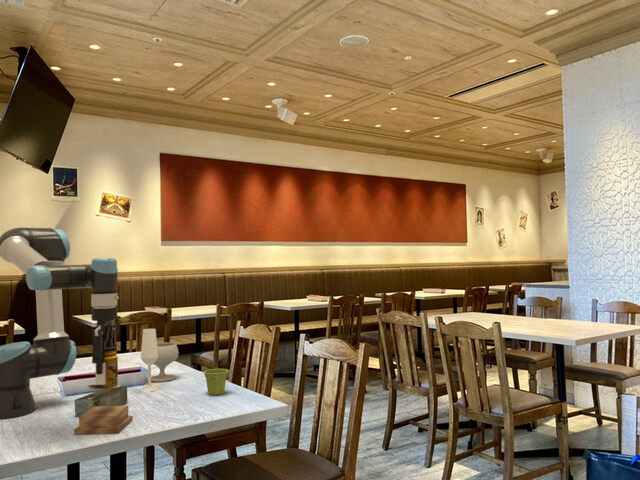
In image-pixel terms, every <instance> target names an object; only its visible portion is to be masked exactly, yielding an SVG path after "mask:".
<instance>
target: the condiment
mask: <svg viewBox="0 0 640 480" xmlns="http://www.w3.org/2000/svg"><path fill="white" fill-rule="evenodd" d="M118 360H119V359H118V355H117V346H116V347H106V349H105V358H104V363H105V374H106V384H105V385H96V384H87V388H89V390H91V391H99V390H101V389H108V388H115V387H121V385H120V384H119V382H118V381H119V380H118V379H119V377H118V376H119V373H118V372H119V369H118V368H119V367H118V365H119V364H118V363H119V362H118Z"/></svg>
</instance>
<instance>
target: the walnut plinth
mask: <svg viewBox="0 0 640 480" xmlns="http://www.w3.org/2000/svg"><path fill="white" fill-rule="evenodd" d="M133 417H134V416H133V415H129V405H121V406H94V407H92V408H91V409H89V410H88V411H86V412H85V413H84V414H82V415H81V416H79V417H78V426H77V427H76V428H75V429H74V430H73V431H74V432H73V433H74V434H73V435H76V436H77V435H109V434H111V435H112V434H120V433H121V432H122V431H123V430H124V429H125V428H126V427H127V426H128V425H129V424H130V423H132V422H133V419H134V418H133Z"/></svg>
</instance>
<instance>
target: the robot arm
mask: <svg viewBox="0 0 640 480" xmlns="http://www.w3.org/2000/svg"><path fill="white" fill-rule="evenodd" d="M70 252H71V244H70V240H69V236H68V235H67V233H66V232H65V231H64V230H63V229H59V228H52V227H15V228H11V229H8V230H7V231H5V232H4V233H2V234H1V235H0V258H1V259H2V260H4V261H6V262H8V263H12V264H13V265H14V266H16V268H18V269H19V270H20V271H22V272H23V273H24V275H25V282H26V284H27V287H28V289H29V290H31V291H35V301H36V304H35V305H36V322H37V324H36V325H37V335H36V336H35V337H34V338H33V344H31V343H30V342H29V341H19V342H11V343H7V344H3V345H0V419H1V420H2V419H10V418H11V419H12V418H16V417H21V416H25V415H28V414H31V413H33V412H34V411H36V401H35V398H34V395H33V393H32V390H31V379H37V378H43V377H51V376H55V375H56V376H58V375H61V374H65V373H69V372H70V371H71V370H72V369H73V368H74V366H75V363H76V359H77V346H76V343H75V341H73V340H71V339H70V336H69V334H68V333H66V332H65V324H64V308H63V291H62V290H71V289H88V288H89V289H91V297H90V298H91V302H90V303H91V306H90V307H92V309H91V320H92V321H93V322H96V327H95V329H94V328H93V329H92V330H91V332H92V356H91V363H92V364H95V385H105V384H106V374H105V363H104V358H105V349H106V347H116V348H117V340H116V339H117V337H116V336H117V335H116V333H117V332H116V330H117V325H116V324H115V323H114V324H113V321H115V320H117V319H118V308H117V307H116V306H118V300H119V298H120V297H119V296H118V270H119V269H118V262H117V260H116V259H117V258H114V257H96V258H95V257H94V258H93V259H92V260H91V263H90V264H89V263H88V264H67V265H66V264H65V260H66V259H68V258H69V256H70Z"/></svg>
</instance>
